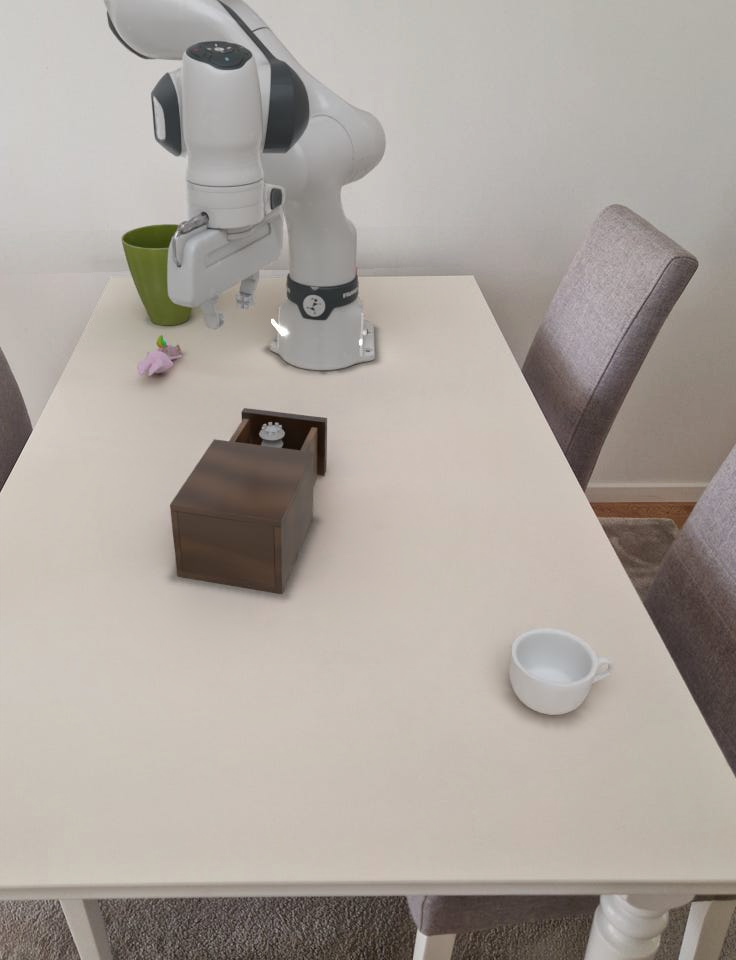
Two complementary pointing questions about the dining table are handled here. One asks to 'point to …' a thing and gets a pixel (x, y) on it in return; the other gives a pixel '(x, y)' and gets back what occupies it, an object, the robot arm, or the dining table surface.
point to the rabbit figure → (159, 358)
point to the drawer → (288, 433)
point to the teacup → (554, 670)
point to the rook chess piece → (272, 435)
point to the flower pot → (153, 271)
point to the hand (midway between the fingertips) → (230, 316)
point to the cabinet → (243, 515)
